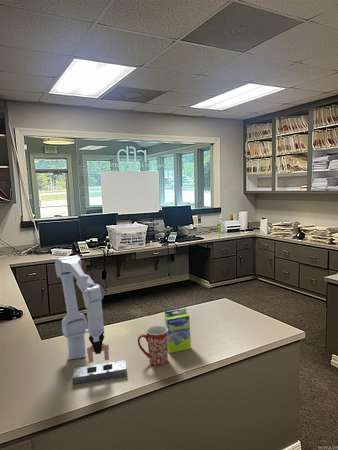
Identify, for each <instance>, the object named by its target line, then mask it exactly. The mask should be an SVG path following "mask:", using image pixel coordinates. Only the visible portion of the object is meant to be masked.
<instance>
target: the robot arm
mask: <svg viewBox="0 0 338 450" xmlns="http://www.w3.org/2000/svg"><path fill="white" fill-rule="evenodd" d="M54 267H55V274H56V277H57V278H60V280H61V284H62V290H63V296H64V302H65V309H66V315H65V316H64V317H63V318H62V320H61V331H62V335H63V336H64V338H67V339H66V340H67V347H68V348H67V349H68V355H67V360H68V361H70V360H76V359H82V357H83V358H86V357H87V356H88V353H87V346H86V342H85V341H86V340H85V339H86V338H85V335H86V333H88V334H89V336H88V341H89V342H90V343H91V345H93V348H94V352H93V353H94V355H101V354H102V351H101V350H102V343H104V339H105V335H104V334H105V325H104V318H103V317H104V315H103V313H104V312H103V304H102V303H103V299H104V295H105V294H104V289H103V287H102V286H101V284H98V283H95V282H94V280H93V279H92V278H91V276H90V275H89V274H85V271H84V270H83V268H82V258H81V257H80V255H78V254H75V255H71V256H65V257H60V258H59V257H57V258H56V259H55V262H54ZM74 278H75V279H76V286H77V287H78V288H79V290H80V291H81V292H82V299H83V301H84V306H85V308H86V315H85V314H84V313H81V312H79V307H78V301H77V295H76V288H75V283H74V282H75V281H74ZM86 317H87V319H86Z"/></svg>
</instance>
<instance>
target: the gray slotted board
mask: <svg viewBox="0 0 338 450" xmlns="http://www.w3.org/2000/svg"><path fill="white" fill-rule="evenodd" d="M127 376H128V371H127V364H126V360H125V359H123V360H117V361H111V362H110V361H109V362H105V363H99V364H93V365H85V366H80V367H74V368H73V372H72V376H71V378H72V379H71V380H72V386H73V385H74V386H78V384H80V385H86V384H91V383H95V382H96V381H97V382H102V380H103V381H108V380H113V379H119V378H124V377H127ZM90 382H91V383H90Z"/></svg>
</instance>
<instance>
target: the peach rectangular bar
mask: <svg viewBox="0 0 338 450" xmlns="http://www.w3.org/2000/svg"><path fill="white" fill-rule="evenodd" d="M86 347H87V359H88V360H87V361H88V364H90V363H94V354H93V353H95V352H94V348H93V345H92V344H86ZM101 352H104V355H103V357H104V361H109V360H110V358H109V357H110V356H109V341H107V342H102V350H101Z"/></svg>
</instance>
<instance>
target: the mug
mask: <svg viewBox="0 0 338 450" xmlns="http://www.w3.org/2000/svg"><path fill="white" fill-rule="evenodd" d="M145 333H146V334H145ZM145 333H144V334H139V335H138V337H137V345H138V347H139V349H140V351H142V353H143V354H144V355H145V356H146V357H147V358H148V359H149V363H150V364H151V365H152V366H155V367H156V366H157V367H158V366H159V367H160V366H163V365H165V364H167V363H168V361H169V360H168V359H169V358H168V356H169V355H168V354H169V352H168V335H167V333H168V329H167V328H166V326H164V325H154V326H153V325H152V326H150V327H148V328H146V330H145ZM141 338H144V339H145V340H146V342H147V347H148V352H147V351H146V350H145V349H144V347H142V345H141V341H140V340H141Z"/></svg>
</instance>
